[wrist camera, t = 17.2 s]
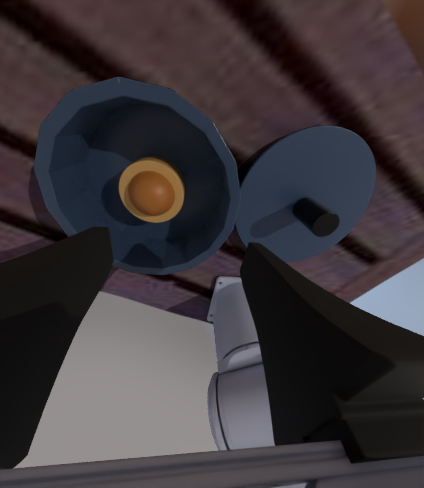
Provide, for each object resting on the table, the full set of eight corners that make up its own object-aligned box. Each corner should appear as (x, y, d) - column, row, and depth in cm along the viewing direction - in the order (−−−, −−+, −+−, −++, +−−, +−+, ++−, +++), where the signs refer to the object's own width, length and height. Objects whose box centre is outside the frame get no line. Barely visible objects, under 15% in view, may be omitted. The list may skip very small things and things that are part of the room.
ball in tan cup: (182, 213, 19) (180, 234, 16) (130, 207, 18) (114, 227, 15) (188, 160, 17) (186, 171, 13) (126, 149, 16) (107, 157, 12)
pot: (214, 248, 22) (219, 279, 18) (93, 236, 20) (65, 268, 16) (244, 114, 15) (265, 110, 11) (62, 73, 13) (-7, 46, 9)
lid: (323, 261, 25) (350, 289, 21) (220, 251, 23) (227, 281, 19) (399, 142, 18) (464, 148, 13) (256, 108, 15) (280, 102, 11)
